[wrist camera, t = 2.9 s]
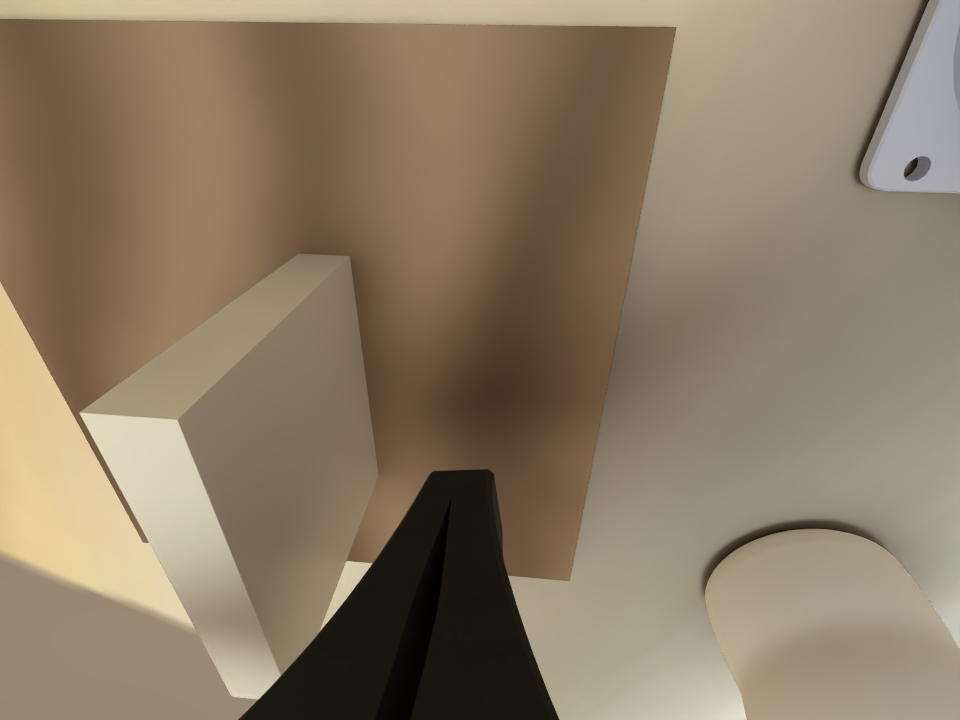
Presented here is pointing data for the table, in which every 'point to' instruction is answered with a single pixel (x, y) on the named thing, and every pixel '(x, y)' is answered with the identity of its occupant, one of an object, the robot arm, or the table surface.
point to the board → (347, 223)
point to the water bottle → (831, 632)
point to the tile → (251, 463)
